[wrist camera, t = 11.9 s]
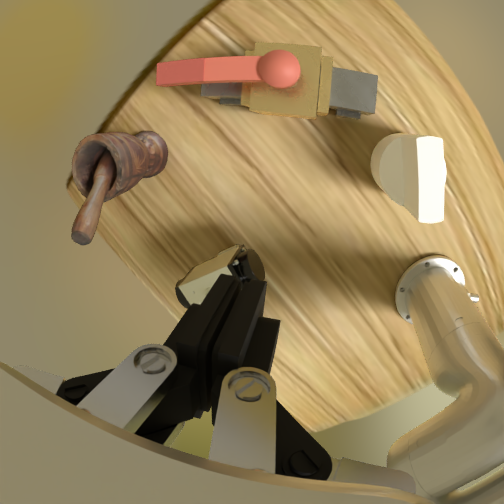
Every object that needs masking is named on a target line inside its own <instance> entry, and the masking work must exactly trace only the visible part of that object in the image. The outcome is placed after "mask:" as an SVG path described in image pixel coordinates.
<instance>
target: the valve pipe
mask: <svg viewBox="0 0 504 504" xmlns="http://www.w3.org/2000/svg"><path fill="white" fill-rule="evenodd" d="M273 50H286V51H288V52H290V53H292V54H293V55H294V56H295V57H296V58H297V60H298V62H299V65H300V68H301V75H300V78H299V80H298V82H297V83H296V84H295V85H293V86H292V87H290V88H287V89H277V88H274V87H272V86H270V85H269V84H267V83H262V82H229V83H208V84H202V86H201V96H203V97H207V98H211V99H220V104H222V105H233V106H247V107H250V108H249V111H253V112H257V113H261V114H265V115H276V116H286V117H295V118H303V119H311V120H316V115H322V116H327V115H328V112H329V109H336V114H335V116H339V117H345V118H351V119H356V120H358V119H360V115H361V114H364V115H371V114H375V105H376V94H377V81H378V76H377V75H373V74H368V73H363V72H358V71H352V70H346V69H340V68H334V67H333V57H328V56H322V64H321V52H322V47H316V46H307V45H296V44H283V43H262V42H255V50H245V56H264V55H265V54H266V53H268V52H270V51H273ZM317 107H318V110H317Z"/></svg>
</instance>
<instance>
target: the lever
mask: <svg viewBox="0 0 504 504" xmlns="http://www.w3.org/2000/svg"><path fill="white" fill-rule="evenodd" d="M300 75H301V68H300V65H299V62H298V60H297V58H296V57H295V56H294V55H293V54H292V53H290V52H288V51H286V50H273V51H270V52H268V53H266V54H265V55H264V56H231V57H213V58H196V59H186V60H178V61H170V62H163V63H157V77H156V85H157V86H163V87H168V86H179V85H191V84H208V83H229V82H262V83H267V84H269V85H270V86H272V87H274V88H277V89H287V88H290V87H292V86H293V85H295V84H296V83H297V82H298V80H299V78H300Z"/></svg>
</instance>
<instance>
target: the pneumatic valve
mask: <svg viewBox="0 0 504 504" xmlns="http://www.w3.org/2000/svg"><path fill="white" fill-rule="evenodd" d="M220 274H227V275H232V276H236V278H237V280H238V281H241V289H242V287H243V285H244V283H245V282H249V283H250V281H251V279H255V280H261V281H264V279H265V271H264V267H263V264H262V262H261V260H260V258H259V256H258V255H257V253H256V252H255V251H254V250H252V249H248V250H246V248H245V246H244V245H241V246H240V245H234V246H232V247H230V248H228V249H226V250H223V251H221V252H219V254H218V256H217V257H215V258H213V259H211V260H208V261H206V262H204V263H202V264H200V265H198V266H195V267H193V268H192V269H191V270H190V271H189V272H188V274H187V275H186V276H185V277H184V278H183V279H181V280H179V281H178V282H177V284H176V288H175V289H176V295H177V298H178V300H179V302H180V303H181V304H182V305H183V306H184V307H185V308H189V307H190V306H191V304H193V303H195V304H201V303H202V301H203V300H204V298H205V297H206V295H207V294H208V292H209V291H210V289H211V288H212V286H213V285H214V283H215V282H216V280H217V278H218V277H219V275H220Z"/></svg>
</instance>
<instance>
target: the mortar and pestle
mask: <svg viewBox="0 0 504 504" xmlns="http://www.w3.org/2000/svg"><path fill="white" fill-rule="evenodd" d="M167 157H168V149H167V145H166V143H165V141H164V140H163V139H162V138H161V137H160V136H159V135H158V134H156V133H155V132H152V131H143V132H141V133H139V134H137V135H135V136H133V135H130V134H127V133H123V132H107V133H99V134H92V135H90V136H87V137H85V138H84V139H83V140H82V141H80V143H79V145H78V147H77V148H76V150H75V153H74V156H73V160H72V173H73V179H74V182H75V184H76V186H77V188H78V190H79V191H80V192H81V194H82V195H83V196H85V197H86V198H87V199H86V200H85V202H84V204H83V205H82V207H81V209H80V211H79V212H78V214H77V216H76V219H75V221H74V224H73V227H72V235H71V237H72V239H73V240H74V242H76V243H78V244H80V245H86V244H89V243H90V242H91V241H92V239H93V237H94V234H95V231H96V229H97V225H98V221H99V218H100V213H101V207H102V204H103V202H106V201H108V200H110V199H112V198H114V197H116V196H118V195H120V194H122V193H124V192H126V191H128V190H130V189H131V188H133V187H134V186H135V185H136V184H137V183H138V182H139V181H140V180H141V179H142V178H149V177H152V176H155V175H157V174H159V173H160V172H161V171H162V170H163V169H164V167H165V165H166V162H167Z"/></svg>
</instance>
